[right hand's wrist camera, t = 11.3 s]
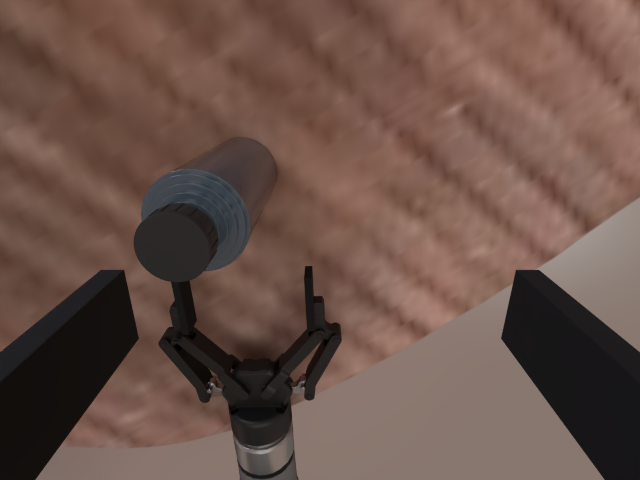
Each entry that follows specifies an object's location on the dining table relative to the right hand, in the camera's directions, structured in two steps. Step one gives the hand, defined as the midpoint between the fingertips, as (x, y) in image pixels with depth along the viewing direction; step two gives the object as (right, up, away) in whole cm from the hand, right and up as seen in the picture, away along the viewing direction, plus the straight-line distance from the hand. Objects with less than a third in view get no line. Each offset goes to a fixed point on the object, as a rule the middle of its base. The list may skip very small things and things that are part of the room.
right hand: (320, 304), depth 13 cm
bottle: (-8, +10, +28) cm, 31 cm away
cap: (-8, +2, +9) cm, 12 cm away
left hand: (-8, -1, +26) cm, 28 cm away
